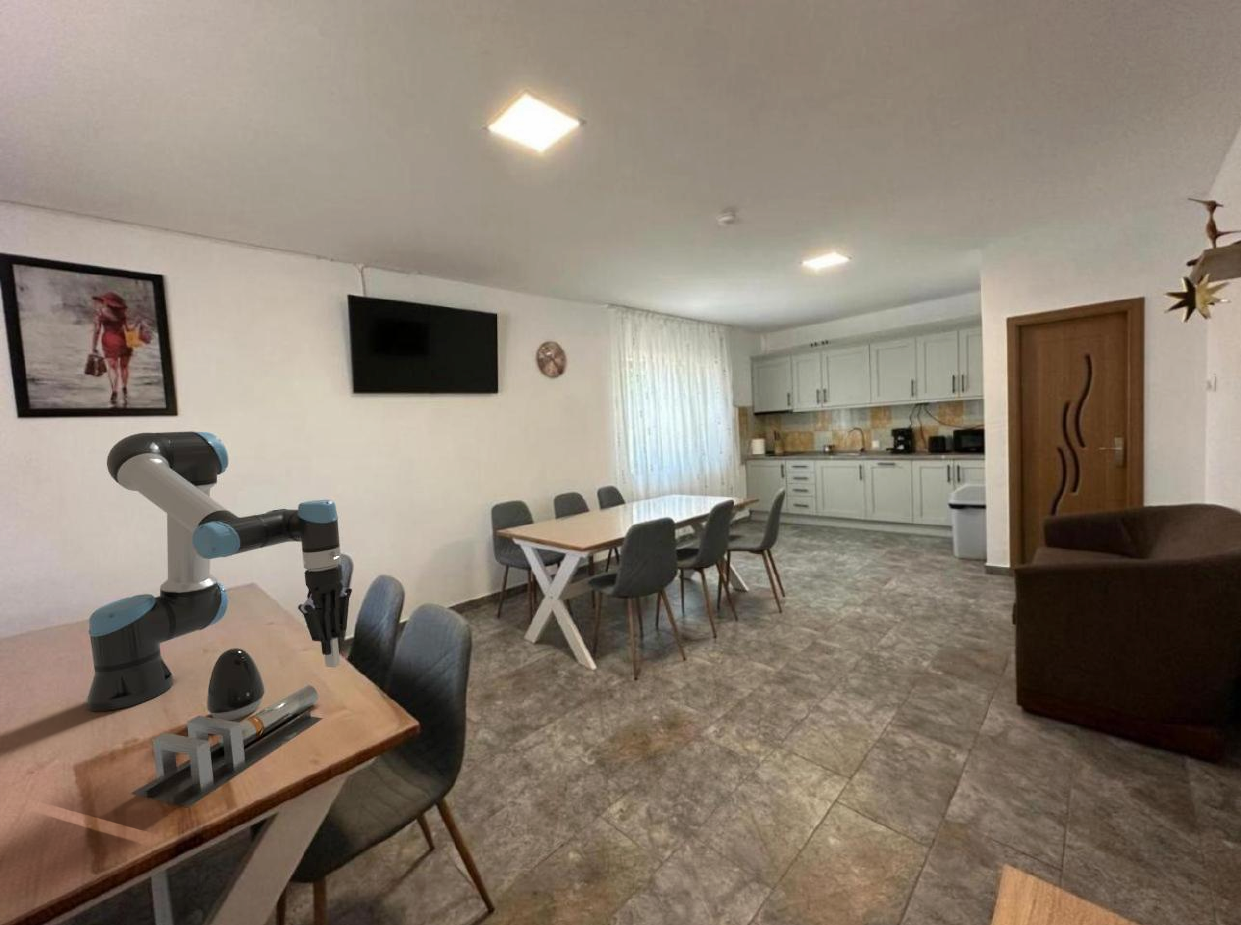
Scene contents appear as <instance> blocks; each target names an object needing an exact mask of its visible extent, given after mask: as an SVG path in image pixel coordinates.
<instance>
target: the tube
mask: <svg viewBox="0 0 1241 925" xmlns="http://www.w3.org/2000/svg"><path fill="white" fill-rule="evenodd" d="M318 699H319V694H318V691H317V689H316V688H315V687H314V686H313V685H310V684H309V685H308V684H307V685H305V686H304V687H301V688H300V689H298V690H296V691H295V692H293V693H291V694H289V695H287V696H285V697H284V698H281V699H280V700H278V701H277V702H275V703H273V704H271V705H270V706H268V707H266V708H265V709H262V710H261V711H259V712H257V713H256V714H253V715H252V716H250V717H248V718H246V719H245V720H243V721H241V722H240V723H241V727H242V737H243V747H245V746H246V745H248V744H249V743H251V742H253V741H254V740H256V739H258V738H259V737H261V736H262V735H264V734H266V733H267V732H269V731H271V730H272V729H274V728H276V727H277V726H279V725H280V724H282V723H284V722H285V721H287V720H289V719H290V718H292V717H293V716H295V715H297V714H300V713H301V712H304V711H305V710H306V709H308V708H310V707H311V706H313V705H315V704H316V703H317V701H318ZM218 739H219V740H218V743H220V746H221V748H222V750H223V751H224V743H223V736H221V735H219V738H218Z"/></svg>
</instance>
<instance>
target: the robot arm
mask: <svg viewBox="0 0 1241 925" xmlns="http://www.w3.org/2000/svg"><path fill="white" fill-rule="evenodd" d="M228 466H229V454H228V451H227V448H226V446H225V444H224V443H223V442H222V440H221V439H220V438H219V437H218V436H217V435H215V434H213V433H211V432H204V431H203V432H202V431H191V430H190V431H167V432H166V431H165V432H140V433H138V432H137V433H134V434H130V435H128V436H126V437H124V438H122V439H121V440H119V441H118V442H116V443H115V445H113V446H112V448H111V449H110V450H109V453H108V455H107V457H106V467H107V471H108V473H109V475H110V477H111V478H112V479H113V480H114V481H115V483H117V484H118V485H119V486H121V487H122V488H124V489H125V490H129V491H133V492H138V493H139V494H141V495H142V496H143V497H145V498H146V499H147V500H149V502H151V503H152V504H153V505H155V506H157V507H158V508H159V509H160V510H161V511H163V512H164V513H166V527H167V528H166V530H167V531H166V533H167V534H166V535H167V540H166V542H167V546H166V547H167V550H166V551H167V579H166V580H165V581H164V582H163V583H162V584H161V585H160V586H159V588H160V589H159V590H160V592H159V596H158V595H157V596H156V597H155V596H154V595H153V594H148V593H145V594H144V593H143V594H137V595H134V596H129V597H124V598H120V599H118V600H115V601H112V602H109V603H107V604H105V605H103V606H101V607H99V608H97V609H96V610H94V611H93V612H92V614H90V617H89V619H88V620H89V621H88V622H89V627H88V628H89V630H88V635H89V637H90V645H91V646H90V647H91V652H92V660H93V667H94V668H93V670H94V676H93V679H92V682H91V684H90V689H89V691H88V696H87V699H86V704H87V709H88V710H89V711H91V712H110V711H115V710H120V709H125V708H128V707H132V706H135V705H139V704H141V703H144V702H146V701H148V700H152V699H153V698H155V697H158V696H160V695H162V694H164V693H166V692H167V691H168V690H170V689H171V688H172V687H173V685H174V677H173V676H174V675H173V673H172V672H171V670H170V667H168V664H166V662H165V661H164V659H163V657H162V655H161V644H162V643H164V642H168V641H170V640H174V639H177V638H179V637H182V636H185V635H187V634H191V633H194V632H197V631H201V630H204V629H206V628H207V627H210V626H213V625H215V624H218V622H219V621H221V620H222V619H223V617H225V615H226V613H227V610H228V606H229V595H228V593H227V592H226V591H227V589H226V587H225V586H224V585H223V584H222V583H220V582H218V578H216V577H215V576H213V575H211V560H212V559H213V560H214V559H217V558H227V557H232V556H233V555H238V554H242V553H247V552H249V551H253V550H258V549H262V548H266V547H267V548H268V547H270V546H275V545H279V544H280V545H281V544H283V543H290V542H299V543H300V542H301V551H302V552H301V553H302V562H303V569H305V572H304V579H305V580H304V582H305V586H306V587H307V590H308V592H307V596H306V600H305V602H304V603H301V604H299V605H298V606H297V609H298V610H299V611H300V613H302V615H303V618H304V621H305V623H306V625H307V626H306V627H307V629H308V632H309V634H310V638H311V640H312V641H313V642H318V643H319V642H320V643H321V646H320V647H321V653H322V655H324V662H325V668H336V667H338V666H340V665H341V660H340V652H339V650H340V649H341V640H340V638H341V637H343V635H344V633H343V632H345V631H346V630H347V627H348V625H347V624H348V616H349V605H350V598H351V595H352V593H353V588H349V587H348V588H347V587H344V585H343V583H342V581H343V579H344V575H343V566H342V565H341V562H342V554H341V545H340V534H339V531H340V530H339V522H338V521H339V520H338V519H339V515H338V513H337V506H336V503H335V501H334V500H332V499H318V500H316V499H314V500H309V501H303V502H300V503H299V504H298V506H297V509H287V508H279V509H273V510H268V511H267V512H265V513H261V514H260V513H259V514H254V515H247V516H243V517H238V516H237V515H236V514H234V513H233V512H231V511H230V510H228V509H227V508H226V507H224V506H223V505H221V503H219V502H217V501H216V500H214V499H213V498H212V497H211V488H213V487H214V486H215V485H217V483H218V475H221V474H223V473H224V472H226V470H227V468H228Z"/></svg>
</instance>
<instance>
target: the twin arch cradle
mask: <svg viewBox="0 0 1241 925" xmlns="http://www.w3.org/2000/svg"><path fill="white" fill-rule="evenodd" d="M323 719H324V717H323V718H322V717H317V716H312V714H311V711H310V710H306V711H303V713H301V714H300V713H298V714H297V715H295V716H293V717H292V718H290V719H289V720H287V721H285V722H284V723H282V724H280V725H279V726H277V727H276V728H274V729H272V730H271V731H269V732H267V733H266V734H264V735H262V736H261V737H259V738H258V739H256V740H254V741H253V742H251V743H249V744H248V745H246V746H245V747H243V737H242V727H241V722H238V721H234V720H231V721H227V720H221V719H215V718H213V717H207V716H203V715H198V716H194V718H191V719H190V720H187V721H186V725H187V732H188V733H187V734H188V735H187V736H184V735H180V734H174V733H168V732H164V733H162V734H160V735H158V736H156V737H155V738H152V739H151V740H152V748H153V750H152V751H153V758H154V766H155V776H156V778H155V779H153V780H151V781H150V782H148V783H146V784H145V785H143V786H142V787H139V788H137V789H136V790H134V791H133V792H131V793H130V794H132V795H136V796H139V797H144V798H148V799H153V800H156V801H160V802H164V803H168V804H171V805H176V806H180V807H184V808H191V806H193V805H194V804H196V803H197V802H200V800H202V799H203V798H205V797H207V796H208V795H209V794H211V793H213V792H214V791H216V790H217V789H219V788H221V787H222V786H223V785H225V784H226V783H228V782H230V781H231V780H232V779H234V778H235V777H237V776H238V775H240V774H241V773H243V772H244V771H246V770H248V769H249V768H251V767H252V766H254V765H255V764H256V763H258V762H260V761H261V760H262V759H264V758H265V757H267V756H269V755H270V754H272V753H274V752H275V751H276V750H278V749H279V748H281V747H282V746H283V745H285V744H287V743H289V742H290V741H291V740H293V739H294V738H295V737H297V736H299V735H300V734H302V733H303V732H305V731H306V730H308V729H310V728H311V727H312V726H314V725H316V724H318V722H320V721H322V720H323ZM209 734H210V735H211V734H212V735H217V736H220V735H221V736H223V743H224V751H223V750H222V748H221V746H220V743H219V742H217V743H215V744H213V745H212V746H210V745H211V744H210V741H209V740H210V738H209ZM176 753H179V754H182V755H183V754H184V755H188V756H189V759H188V760H186V761H184V762H182V763H180V764H179V765H177V758H176Z"/></svg>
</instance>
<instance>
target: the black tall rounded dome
mask: <svg viewBox="0 0 1241 925" xmlns="http://www.w3.org/2000/svg"><path fill="white" fill-rule="evenodd" d="M265 690H266V689H265V685H264V682H263V678H262V675H261V673H260V671H259V669H258V666H257V664H256V662H255V660H254V659H253V657H252V656H251V655H250V654H249V652H247V651H246V650H245V649H243V648H230V649H227V650H225V651H224V652H223V653H221V654H220V656H219V657H218V658H217V660H216V662H215V663H214V666H213V668H212V671H211V675H210V678H209V683H208V688H207V697H206V710H207V711H208V712H209V713H210V715H211V716H212V718H215V719H221V720H227V721H235V720H238V719H241V718H244V717H247V716H248V715H250V714H252V713H253V712H255V711H256V710H258V709H259V707H260V705H261V704H262V701H263V698H264V695H265V692H266V691H265Z"/></svg>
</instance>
